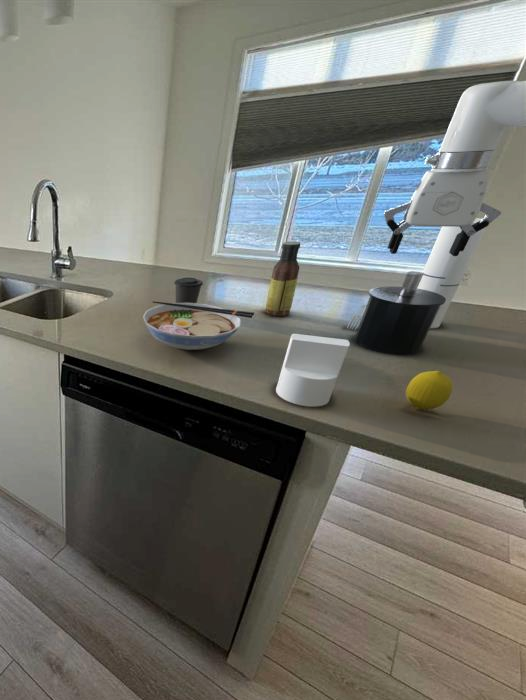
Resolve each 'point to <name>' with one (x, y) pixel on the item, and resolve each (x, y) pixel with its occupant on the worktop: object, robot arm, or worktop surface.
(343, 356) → the base with upright slab
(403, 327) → the cup
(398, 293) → the tin lid
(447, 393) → the lemon
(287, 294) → the sauce bottle
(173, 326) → the ramen bowl
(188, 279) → the coffee cup
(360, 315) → the fork
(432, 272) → the cylindrical container
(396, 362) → the worktop surface
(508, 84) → the robot arm
